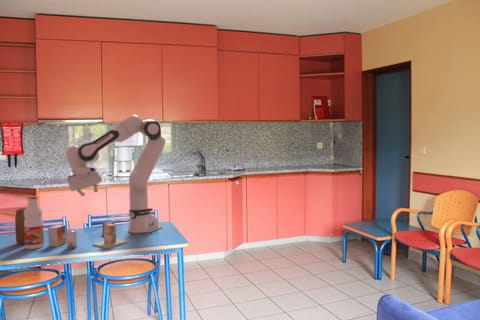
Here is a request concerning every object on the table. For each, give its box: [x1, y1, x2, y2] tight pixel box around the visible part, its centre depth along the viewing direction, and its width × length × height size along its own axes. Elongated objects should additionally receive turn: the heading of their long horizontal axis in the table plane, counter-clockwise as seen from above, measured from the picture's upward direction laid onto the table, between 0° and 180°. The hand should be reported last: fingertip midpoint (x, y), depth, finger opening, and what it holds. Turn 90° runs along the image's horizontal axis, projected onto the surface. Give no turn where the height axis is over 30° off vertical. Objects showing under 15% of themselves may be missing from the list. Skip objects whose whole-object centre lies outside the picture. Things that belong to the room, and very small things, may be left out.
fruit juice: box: [24, 195, 45, 250], centre depth 228 cm, size 9×9×28 cm
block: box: [14, 207, 26, 246], centre depth 238 cm, size 11×8×20 cm
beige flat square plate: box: [92, 238, 128, 250], centre depth 233 cm, size 14×12×1 cm
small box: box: [47, 224, 67, 247], centre depth 233 cm, size 8×6×10 cm
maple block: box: [103, 223, 117, 244], centre depth 233 cm, size 4×4×10 cm
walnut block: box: [102, 221, 115, 235], centre depth 258 cm, size 5×5×7 cm
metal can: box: [66, 230, 78, 250], centre depth 226 cm, size 5×5×9 cm
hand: (89, 193), depth 248 cm, fingers open, 8 cm apart
